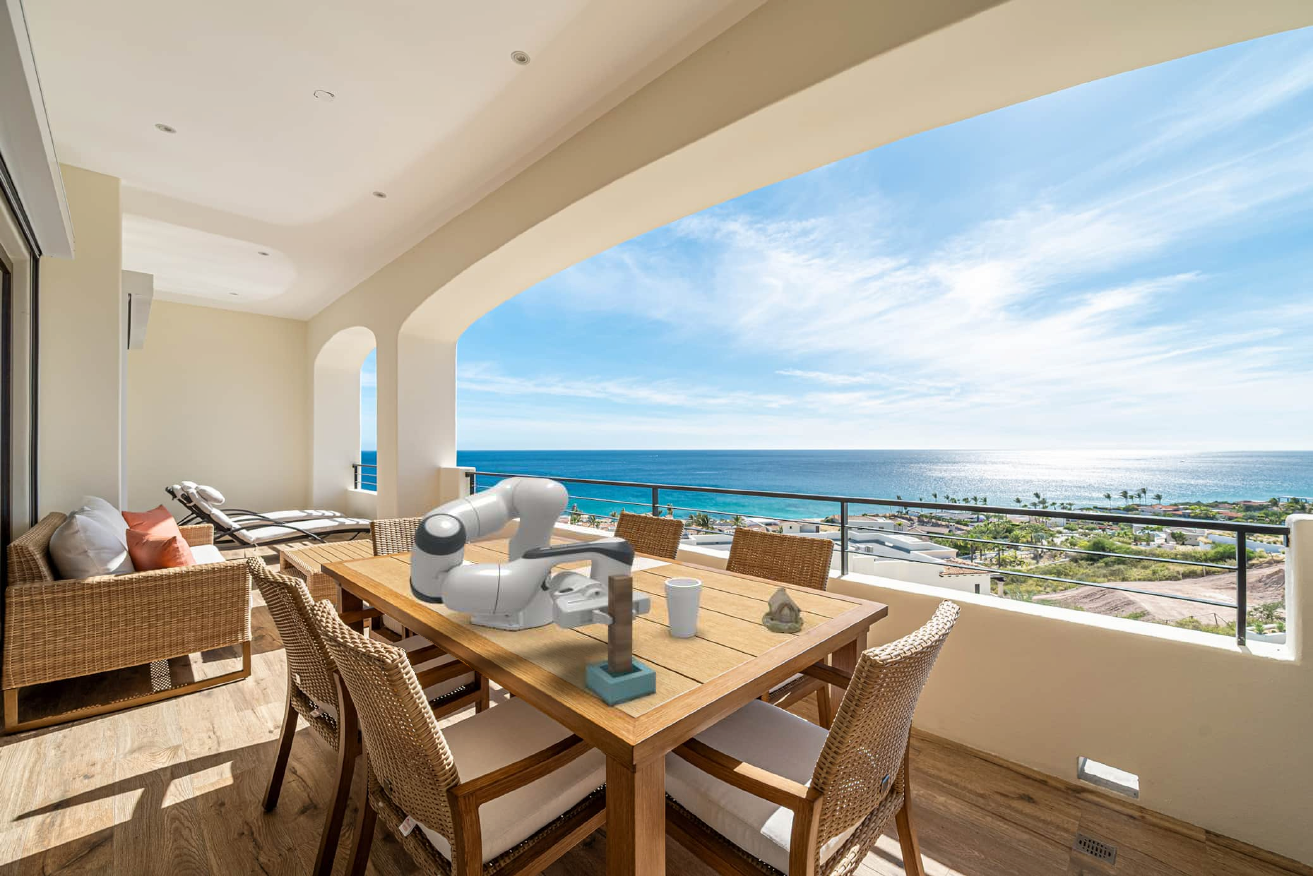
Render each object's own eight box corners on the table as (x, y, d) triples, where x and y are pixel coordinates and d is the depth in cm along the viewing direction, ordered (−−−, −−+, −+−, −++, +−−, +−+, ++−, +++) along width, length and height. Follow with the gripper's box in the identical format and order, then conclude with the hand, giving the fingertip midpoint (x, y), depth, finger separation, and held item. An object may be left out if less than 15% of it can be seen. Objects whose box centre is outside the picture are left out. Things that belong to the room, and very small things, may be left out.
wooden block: (607, 668, 105) (608, 575, 105) (623, 664, 107) (623, 573, 107) (616, 674, 102) (616, 579, 102) (632, 670, 104) (632, 577, 104)
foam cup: (687, 642, 130) (687, 589, 130) (657, 634, 135) (657, 583, 135) (708, 632, 137) (708, 581, 137) (678, 624, 143) (678, 576, 143)
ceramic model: (759, 616, 151) (759, 580, 151) (800, 617, 150) (800, 581, 150) (765, 633, 137) (765, 594, 137) (810, 634, 136) (809, 595, 136)
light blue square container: (586, 685, 106) (586, 665, 106) (629, 674, 112) (629, 654, 112) (610, 706, 98) (610, 684, 98) (655, 692, 103) (655, 671, 103)
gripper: (631, 608, 121) (666, 625, 109) (546, 624, 110) (574, 645, 98) (631, 580, 121) (666, 594, 110) (546, 593, 110) (574, 610, 98)
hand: (622, 618), depth 104 cm, fingers closed on wooden block, 3 cm apart
